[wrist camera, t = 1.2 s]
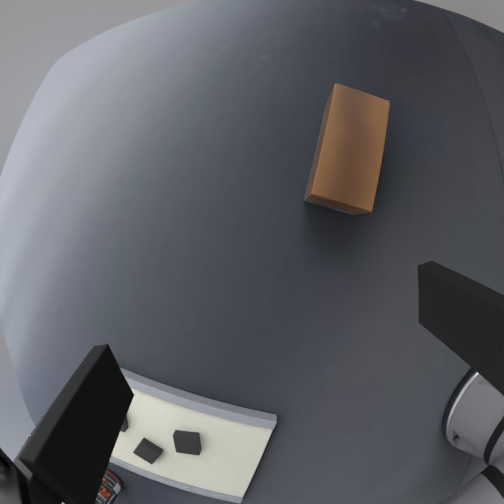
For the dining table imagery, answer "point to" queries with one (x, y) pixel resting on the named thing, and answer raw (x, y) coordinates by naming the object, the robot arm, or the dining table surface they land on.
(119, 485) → the supplement bottle
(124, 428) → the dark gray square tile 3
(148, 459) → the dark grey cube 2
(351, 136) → the eraser
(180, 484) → the whiteboard
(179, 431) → the grey block
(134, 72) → the dining table surface
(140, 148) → the dining table surface
